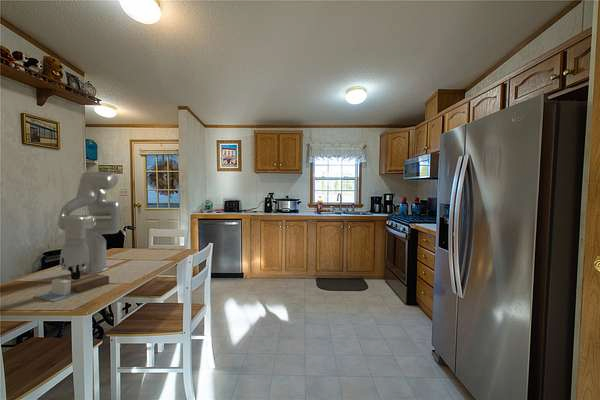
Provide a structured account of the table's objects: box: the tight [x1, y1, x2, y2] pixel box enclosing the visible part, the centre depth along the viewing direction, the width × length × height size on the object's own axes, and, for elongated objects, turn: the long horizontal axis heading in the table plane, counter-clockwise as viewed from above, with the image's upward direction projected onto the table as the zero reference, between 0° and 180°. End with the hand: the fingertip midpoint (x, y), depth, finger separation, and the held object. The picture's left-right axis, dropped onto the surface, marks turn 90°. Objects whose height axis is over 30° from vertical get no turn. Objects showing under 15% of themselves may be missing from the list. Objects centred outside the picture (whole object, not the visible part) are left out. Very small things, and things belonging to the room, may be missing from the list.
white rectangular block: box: [51, 278, 71, 296], centre depth 115 cm, size 9×6×2 cm
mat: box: [33, 290, 79, 303], centre depth 114 cm, size 15×9×1 cm, turn 71°
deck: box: [65, 273, 110, 295], centre depth 125 cm, size 14×14×4 cm
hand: (75, 279), depth 121 cm, fingers closed
